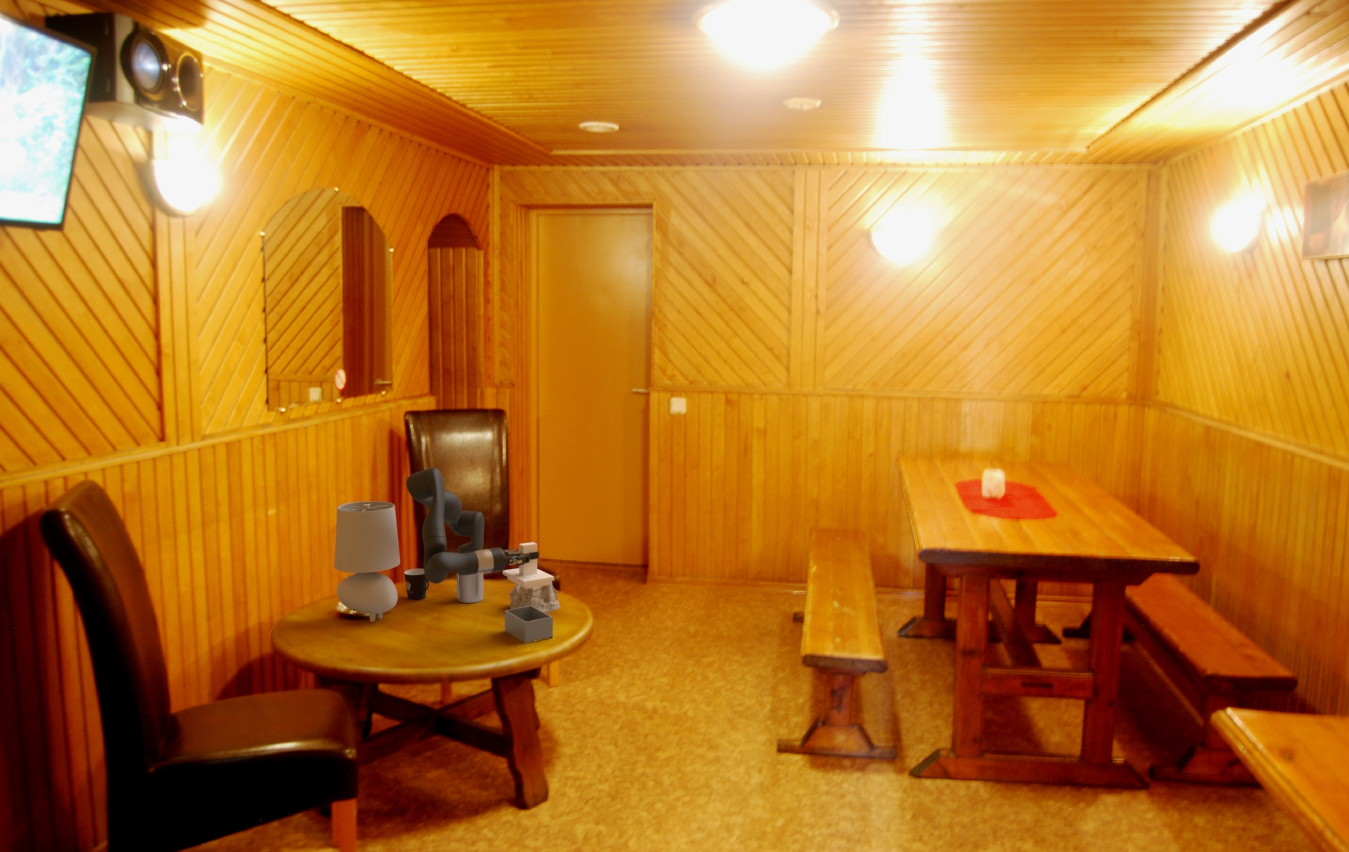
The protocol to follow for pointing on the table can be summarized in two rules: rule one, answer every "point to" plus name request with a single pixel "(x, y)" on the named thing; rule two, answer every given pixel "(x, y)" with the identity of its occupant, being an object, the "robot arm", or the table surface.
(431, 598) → the table surface
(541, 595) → the beige rock formation
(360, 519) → the table lamp
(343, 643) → the table surface
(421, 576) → the coffee mug
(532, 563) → the slab with upright post
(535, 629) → the tub
